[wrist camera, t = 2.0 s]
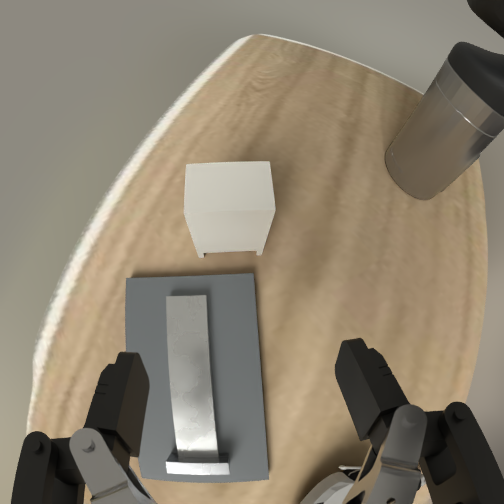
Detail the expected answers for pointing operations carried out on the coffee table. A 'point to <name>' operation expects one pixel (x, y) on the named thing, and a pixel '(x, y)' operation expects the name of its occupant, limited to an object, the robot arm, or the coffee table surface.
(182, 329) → the rail
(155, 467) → the rail board
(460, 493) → the robot arm
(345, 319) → the coffee table surface
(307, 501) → the robot toy
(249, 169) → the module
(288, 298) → the coffee table surface
